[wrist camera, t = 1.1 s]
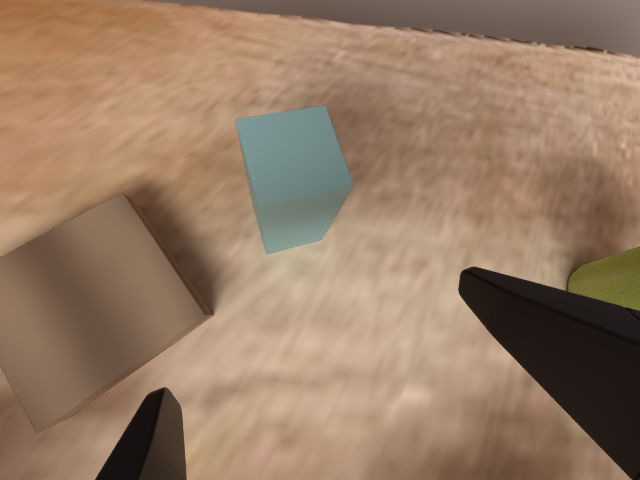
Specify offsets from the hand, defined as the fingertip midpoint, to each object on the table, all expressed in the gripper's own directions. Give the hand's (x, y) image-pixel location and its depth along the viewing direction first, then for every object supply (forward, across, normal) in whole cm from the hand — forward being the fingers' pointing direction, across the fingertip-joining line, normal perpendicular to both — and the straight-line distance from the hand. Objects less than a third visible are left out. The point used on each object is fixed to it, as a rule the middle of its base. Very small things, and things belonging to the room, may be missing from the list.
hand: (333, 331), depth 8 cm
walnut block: (+14, +12, +5) cm, 19 cm away
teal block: (+15, -2, +4) cm, 16 cm away
